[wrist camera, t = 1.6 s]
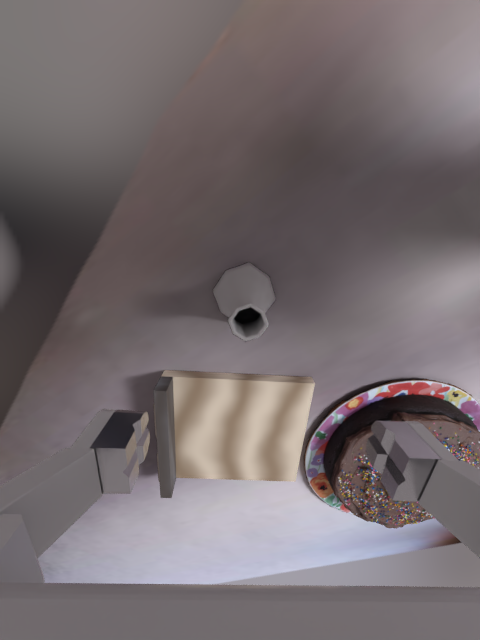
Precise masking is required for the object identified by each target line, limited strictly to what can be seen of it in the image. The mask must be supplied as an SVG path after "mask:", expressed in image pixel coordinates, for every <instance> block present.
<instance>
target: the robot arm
mask: <svg viewBox="0 0 480 640" xmlns="http://www.w3.org/2000/svg"><path fill="white" fill-rule="evenodd" d="M148 421H149V418H148V413H147V412H145V411H129V410H109V409H102V410H101V411H99V412H98V413H97V414H96V416H95V417H94V418H93V419H92V421H91V422H90V423H89V425H88V426H87V427H86V428H85V430H84V431H83V432H82V434H81V435H80V436H79V437H78V439H77V440H76V441H75V443H74V444H73V445H72V446H71V448H64V449H62V450H61V451H59V452H57V453H56V454H54V455H52V456H50V457H49V458H47V459H45V460H44V461H42V462H40V463H39V464H37V465H35V466H33V467H32V468H30V469H28V470H27V471H25V472H23V473H21V474H20V475H18V476H16V477H15V478H13V479H11V480H10V481H8V482H6V483H4V484H3V485H1V486H0V640H480V587H402V586H401V587H400V586H395V587H394V586H309V585H306V586H305V585H202V584H98V583H44V582H45V581H44V575H43V572H42V570H41V567H40V564H39V561H38V559H37V558H38V557H39V556H40V555H42V554H43V553H44V552H45V551H46V550H47V549H48V548H49V547H50V546H51V545H52V544H53V543H54V542H55V541H56V540H57V539H58V538H59V537H60V536H61V535H62V534H63V533H64V532H65V531H66V530H67V529H68V528H69V527H70V526H71V525H73V524H74V523H75V522H76V521H77V520H78V519H79V518H80V517H81V516H82V515H83V514H84V513H85V512H86V511H87V510H88V509H89V508H90V507H91V506H92V505H93V504H94V503H95V502H96V501H97V500H98V499H99V498H100V497H101V496H102V494H131V492H132V490H133V487H134V485H135V482H136V480H137V477H138V475H139V466H138V465H140V464H141V463H142V462H143V461H144V460H145V457H146V455H147V452H148V447H149V442H150V431H149V430H148V429H147V428H146V426H147V424H148ZM371 430H372V432H373V435H372V436H371V437H369V438H368V440H367V444H366V452H367V457H368V459H369V462H370V463H371V465H372V467H373V468H374V469H375V470H376V471H378V472H379V473H380V474H381V479H380V480H381V482H382V484H383V485H384V487H385V489H386V490H387V492H388V494H389V495H390V497H391V499H392V500H396V501H413V502H419V504H420V505H421V506H422V507H423V508H424V509H425V510H426V511H428V512H429V513H430V514H431V515H432V516H433V517H434V518H435V519H436V520H438V521H439V522H440V523H441V524H442V525H443V526H444V527H445V528H447V529H448V530H449V531H450V532H451V533H452V534H453V535H454V536H455V537H457V538H458V539H459V540H460V541H461V542H462V543H463V544H464V545H465V546H467V547H468V548H469V549H470V550H471V551H472V552H473V553H475V554H476V555H477V556H478V557H479V558H480V470H479V469H477V468H475V467H473V466H472V465H470V464H468V463H466V462H465V461H459V460H458V459H457V458H456V457H455V456H454V455H453V454H452V453H451V452H450V451H449V450H448V449H447V448H446V447H445V446H444V445H443V444H442V443H441V442H440V441H439V440H438V439H437V438H436V437H435V436H434V435H433V434H432V433H431V432H430V431H429V430H428V429H427V428H426V427H425V426H424V425H423V424H421V423H419V422H415V421H403V422H401V421H375V422H374V423H373V424H372V427H371Z"/></svg>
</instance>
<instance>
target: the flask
mask: <svg viewBox="0 0 480 640" xmlns="http://www.w3.org/2000/svg"><path fill="white" fill-rule="evenodd" d="M213 293H214V296H215V299H216V301H217V304H218V306H219V309H220V312H221V313H222V314H224V315H226V316H227V317H229V318H228V323H229V325H230V328H231V331H232V333H233V335H235V336H237V337H238V338H240V339H242V340H243V341H245V342H247V341H250V340H253V339H256V338H259V337H260V336H261V335H262V334H263V332H264V331H265V330H266V329H267V327H268V326H269V324H268V321H267V318H266V315H265V313H266V312H267V310H268V309H269V308H270V306H271V305H272V304H273V302H274V301H275V300H276V297H275V294H274V291H273V287H272V284H271V281H270V277H269V276H268V275H266V274H265V273H264V272H262V271H261V270H259V269H258V268H256V267H255V266H254V265H252V264H251V263H246V264H243V265H240V266H238V267H235V268H232V269H229V270H226V271H225V272H224V274H223V276H222V277H221V279H220V280H219V282H218V283H217V285H216V286H215V288H214V289H213Z"/></svg>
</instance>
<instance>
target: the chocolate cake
mask: <svg viewBox="0 0 480 640" xmlns="http://www.w3.org/2000/svg"><path fill="white" fill-rule="evenodd" d="M375 421H401V422H403V421H415V422H419V423H421V424H423V425H424V426H425V427H426V428H427V429H428V430H429V431H430V432H431V433H432V434H433V435H434V436H435V437H436V438H437V439H438V440H439V441H440V442H441V443H442V444H443V445H444V446H445V447H446V448H447V449H448V450H449V451H450V452H451V453H452V454H453V455H454V456H455V457H456V458H457V459H458V460H459V461H465V462H466V463H468V464H470V465H472V466H473V467H475V468H477V469H479V470H480V404H479V403H478V402H477V401H476V400H475V399H474V398H473V397H472V395H470V394H468V393H467V392H466V391H464V390H462V389H460V388H458V387H456V386H454V385H451V384H446V383H443V382H437V381H433V380H428V379H422V380H414V379H413V380H409V381H406V380H405V381H397V380H393V381H389V382H387V383H384V384H382V385H380V386H377V387H375V388H372V389H370V390H368V391H366V392H363V393H360V394H358V395H355V396H353V397H352V398H350V399H349V400H348V401H344V400H343V401H342V402H341V403H340V404H337V405H336V406H335V407H334V408H332V409H331V411H330V412H329V414H328V416H327V417H326V418H324V419H323V421H322V422H321V424H320V426H319V427H318V428H317V429H316V430H315V431H314V432H313V434H312V436H311V438H310V439H309V442H308V444H307V447H306V451H305V457H304V465H305V473H306V478H307V480H308V481H309V482H308V483H309V485H310V487H311V488H312V489H313V491H314V492H315V494H316V495H317V496H318V497H319V498H320V499H322V500H323V501H324V502H325V503H327V504H328V505H330V506H331V507H335V508H336V509H338V510H340V511H342V512H346V513H350V514H353V515H356V516H358V517H360V518H362V519H364V520H366V521H371V522H376V523H379V524H381V525H384V526H386V527H387V528H398V527H403V526H404V525H406V524H412V523H413V524H414V523H416V524H417V522H418V523H419V522H422V521H425V520H427V519H432V518H434V517H433V516H432V515H431V514H430V513H429V512H428V511H426V510H425V509H424V508H423V507H422V506H421V505H420V504H419V502H413V501H396V500H392V499H391V497H390V495H389V494H388V492H387V490H386V489H385V487H384V485H383V484H382V482H381V480H380V479H381V474H380V473H379V472H378V471H376V470H375V469H374V468H373V467H372V465H371V463H370V462H369V459H368V457H367V452H366V444H367V440H368V438H369V437H371V436H372V435H373V432H372V430H371V427H372V424H373V423H374V422H375Z"/></svg>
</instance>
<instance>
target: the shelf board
mask: <svg viewBox="0 0 480 640" xmlns="http://www.w3.org/2000/svg"><path fill="white" fill-rule="evenodd" d="M314 385H315V383H314V381H313V379H312V377H298V376H277V375H256V374H236V373H215V372H194V371H173V370H164V372H163V374H162V376H161V377H160V379H159V381H158V383H157V385H156V387H155V389H154V405H153V406H154V420H155V435H156V437H157V451H158V453H157V463H158V478H159V482H160V495H161V498H171V497H172V493H173V489H174V485H175V481H176V478H203V479H234V480H265V481H296V476H297V471H298V466H299V461H300V456H301V451H302V446H303V441H304V436H305V431H306V426H307V421H308V415H309V410H310V405H311V400H312V395H313V390H314Z"/></svg>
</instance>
